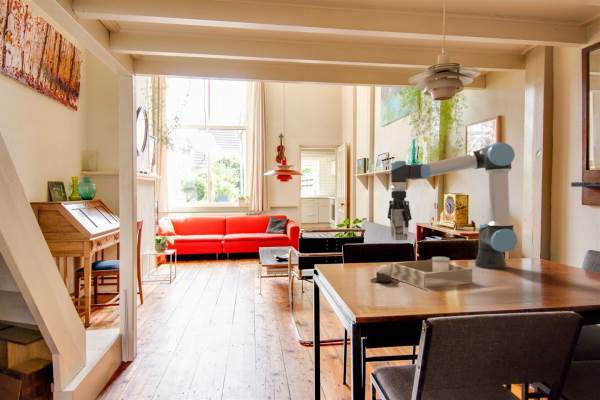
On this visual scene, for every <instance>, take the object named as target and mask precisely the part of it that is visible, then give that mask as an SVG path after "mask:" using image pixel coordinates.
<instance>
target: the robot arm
mask: <svg viewBox="0 0 600 400" xmlns="http://www.w3.org/2000/svg"><path fill="white" fill-rule="evenodd" d="M515 156H516V155H515V150H514V148H513V147H512V146H511V145H510V144H508V143H506V142H497V143H495V142H494V143H492V144H491V145H487V146H485V147H483V148H480V149H478V150H474V151H470V153H469V154H465V155H460V156H455V157H450V158H445V159H442V160H436V161H432V162H427V163H422V164H421V163H420V164H407V163H406V160H395V161H394V160H393V161H392V162H391V166H390V183H391V188H390V189H391V190H392V191H391V192H390V193H391V196H390V197H391V198H392V200H389V203H388V204H389V205H388V212H387V217H386V218H387V219H389V221H390V222H389V225H390V227H389V228H391V209H404V210H405V212H404V211H402V216H403V219H404V220H403V234H407V235H408V234H409V226H410V224H409V223H410V222H409V221H411V220H412V213H411V209H410V201H409V200H406V198H407V180H412V181H417V180H426V179H427V180H428V179H429V178H430V177H434V176H435V177H436V176H439V175H445V174H449V173H455V172H458V171H463V170H469V169H473V170H478V169H484V170H485V172H486V173H487V175H488V189H489V215H490V216H489V219H490V220H489V222H488V223H481V224H479V226H478V253H477V255H476V258H475V260H474V266H476V267H478V268H482V269H483V268H484V269H493V270H501V269H502V270H504V269H507V261H506V259H505V255H504V253H506V252H510V251H512V250H513V249H514V248H515V247H516V246H517V244H518V236H517V234H516V233H515V231H514V230H515V229H514V223H512V221H511V220H510V219H511V218H510V193H509V189H510V188H509V172H511V170H512V162H513V161H514V159H515Z"/></svg>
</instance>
